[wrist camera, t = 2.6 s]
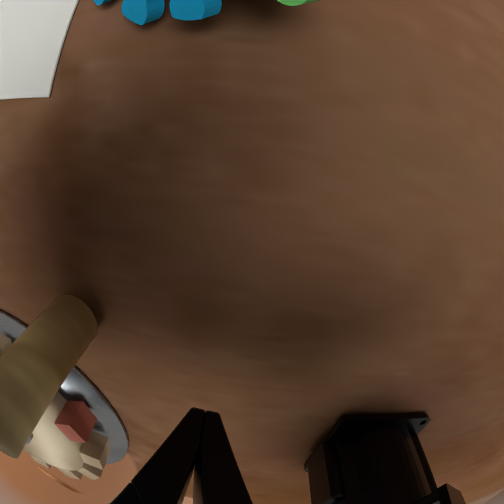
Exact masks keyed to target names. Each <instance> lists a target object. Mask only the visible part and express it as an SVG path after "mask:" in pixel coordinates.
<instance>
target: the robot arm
mask: <svg viewBox="0 0 504 504" xmlns="http://www.w3.org/2000/svg"><path fill="white" fill-rule="evenodd" d="M429 420H430V418H429V416H428V414H427V413H421V414H391V415H370V414H347V415H344V416H343V417H341V418H340V419H339V420H338V422H337V423H336V425H335V426H334V427H333V429H332V430H331V431H330V433H329V434H328V435H327V437H326V438H325V439H324V441H323V442H322V443H321V444H320V446H319V447H318V448H317V449H316V451H315V452H314V453H313V454H312V456H311V457H310V458H309V459H308V461H307V462H306V463H305V465H304V470H305V471H306V472H308V474H309V483H310V493H311V503H312V504H466V503H465V501H464V498H463V496H462V494H461V492H460V491H459V490H457V489H455V488H454V487H452V486H450V485H449V484H447V483H446V484H444V485H442V486H441V487H439V488H437V485H436V483H435V480H434V477H433V474H432V472H431V469H430V466H429V464H428V461H427V459H426V456H425V453H424V451H423V448H422V446H421V443H420V441H419V439H418V436H417V434H418V433H419V432H420V431H421V430H422V429H423V428H424V427H425V425H426V424H427V423H428V422H429ZM194 465H195V467H194ZM193 470H194V482H193V504H253V503H252V501H251V498H250V496H249V493H248V491H247V488H246V486H245V483H244V481H243V478H242V476H241V473H240V470H239V468H238V465H237V462H236V460H235V457H234V454H233V451H232V449H231V446H230V443H229V440H228V437H227V434H226V431H225V428H224V426H223V423H222V420H221V417H220V414H219V413H217V412H213V411H206V412H205V410H203V409H199V408H194V407H193V408H191V409H190V410H189V412H188V413H187V414H186V415H185V417H184V418H183V419H182V420H181V422H180V423H179V424H178V425H177V427H176V428H175V429H174V430H173V432H172V433H171V434H170V435H169V436H168V438H167V439H166V440H165V441H164V443H163V444H162V445H161V446H160V447H159V449H158V450H157V451H156V452H155V453H154V455H153V456H152V457H151V458H150V459H149V461H148V462H147V463H146V464H145V465H144V467H143V468H142V469H141V470H140V471H139V472H138V474H137V475H136V476H135V477H134V478H133V479H132V481H131V483H129V484H128V485H127V486H126V487H125V488H124V490H123V491H122V492H121V493H120V494H119V495H118V496H117V497H116V498H115V499H114V500H113V501H112V502H111V503H110V504H182V502H183V500H184V497H185V494H186V491H187V488H188V485H189V482H190V479H191V476H192V473H193Z"/></svg>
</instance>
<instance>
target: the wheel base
mask: <svg viewBox="0 0 504 504" xmlns="http://www.w3.org/2000/svg"><path fill="white" fill-rule="evenodd" d="M28 327H29V326H27V325H26V324H24V323H23V322H21V321H20V320H18V319H17V318H15V317H13V316H11V315H10V314H8V313H6V312H4V311H2V310H0V333H1V334H3V335H5V336H6V337H8V338H10V339H11V342H12V343H13V342H14V341H15V340H16V339H17V338H18V337H19V336H20V335H21V334H22V333H23V332H24V331H25V330H26V329H27V328H28ZM58 392H59V393H60V394H61V395H62V396H63V397H64V398H65V399H66V400H67V401H83V402H84V403H85V405H86V406H87V407H88V408H89V409H90V411H91V412H92V413H93V414H94V415H95V416H96V418H97V421H96V423H95V425H94V427H93V429H92V431H94V432H96V433H99V434H101V435H104V436H107V437H109V441H110V445H111V450H110V453H109V456H108V458H107V461H106V463H105V464H111V463H115V462H118V461H120V460H121V459H122V458H123V457H124V456H125V455H126V452H127V449H128V446H129V439H128V435H127V431H126V429H125V427H124V425H123V423H122V421H121V419H120V418H119V416H118V414H117V413H116V411H115V410H114V408H113V407H112V406H111V404H110V403H109V402H108V400H107V399H106V398H105V397H104V396H103V394H102V393H101V392H100V391H99V390H98V388H97V387H96V386H95V385H94V384H93V383H92V382H91V381H90V380H89V379H88V378H87V377H86V376H85V375H84V374H83V373H82V372H81V371H80V370H79V369H78V368H77V367H76V366H74V367H73V369H72V370H71V372H70V373H69V375H68V376H67V378H66V379H65V381H64V382H63V384H62V385H61V387H60V388H59V390H58Z"/></svg>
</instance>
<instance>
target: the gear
mask: <svg viewBox="0 0 504 504" xmlns="http://www.w3.org/2000/svg"><path fill="white" fill-rule="evenodd" d="M93 1H94V2H95V3H96V4H97V6H98V5H101V4H103V3H106V2H109V1H111V0H93ZM277 1H279V2H280V3H282V4H285V5H289V6H296V5H301V4H305V3H310V2H315V1H319V0H277ZM221 6H222V0H170V12H171V15H172V17H173V18H176V19H179V20H199V19H204V18H207V17H210V16H213V15H216V14H219V12H220V10H221ZM164 8H165V3H164V0H124V1H123V4H122V14H123V15H124V16H125V17H127V18H128V19H129V20H131V21H133V22H134V23H137V24H139V25H141V26H142V25H144V24H146V23H149V22H151V21H154V20H157V19H159V18H160V17H161V16H162V14H163V12H164Z"/></svg>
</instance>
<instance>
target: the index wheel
mask: <svg viewBox="0 0 504 504" xmlns="http://www.w3.org/2000/svg"><path fill="white" fill-rule="evenodd" d="M96 333H97V321H96V318H95V316H94V314H93V312H92V311H91V309H90V308H89V307H88V306H87V305H86V304H85V303H84V302H83V301H82V300H80V299H79V298H77V297H75V296H72V295H61V296H59V297H58V298H57V299H56V300H55V301H54V302H53V303H52V304H51V305H50V306H48V307H47V308H46V309H45V310H44V311H43V312H42V313H41V314H40V315H39V316H38V317H37V318H36V319H35V320H34V321H33V322H32V323H31V324H30V326H29V327H28V328H27V329H26V330H25V331H24V332H23V333H22V334H21V335H20V336H19V337H18V338H17V339H16V340H15V341H14V342H13V343H12V342H11V339H10V338H8V337H6V336H5V335H3V334H1V333H0V451H2V452H3V453H5V454H7V455H8V456H11V457H13V458H18V457H19V455H20V453H21V452H22V450H25V451H26V452H28V453H29V454H30V455H31V456H32V458H33V459H34V461H35V462H37V463H39V464H41V465H43V466H45V467H46V468H48V469H50V467H51V465H52V466H55V467H57V468H58V469H59V470H61V471H62V472H63V473H64V474H65V475H66V476H68V477H72V478H76V479H81V477H82V474H83V475H85V476H87V477H88V478H90V479H92V480H95V479H98V478H100V477H101V474H102V471H103V469H104V466H105V463H106V461H107V458H108V456H109V453H110V450H111V445H110V441H109V437H107V436H104V435H101V434H99V433H96V432H94V431H92V429H93V427H94V425H95V423H96V421H97V418H96V416H95V415H94V414H93V413H92V412H91V411H90V409H89V408H88V407H87V406H86V405H85V403H84V402H83V401H67V400H66V399H65V398H64V397H63V396H62V395H61V394H60V393H59V392H58V390H59V388H60V387H61V385H62V384H63V382H64V381H65V379H66V378H67V376H68V375H69V373H70V372H71V370H72V369H73V367H74V366H75V364H76V363H77V361H78V360H79V358H80V357H81V355H82V354H83V352H84V351H85V350H86V348H87V347H88V345H89V344H90V342H91V341H92V340H93V338H94V337H95V335H96Z"/></svg>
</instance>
